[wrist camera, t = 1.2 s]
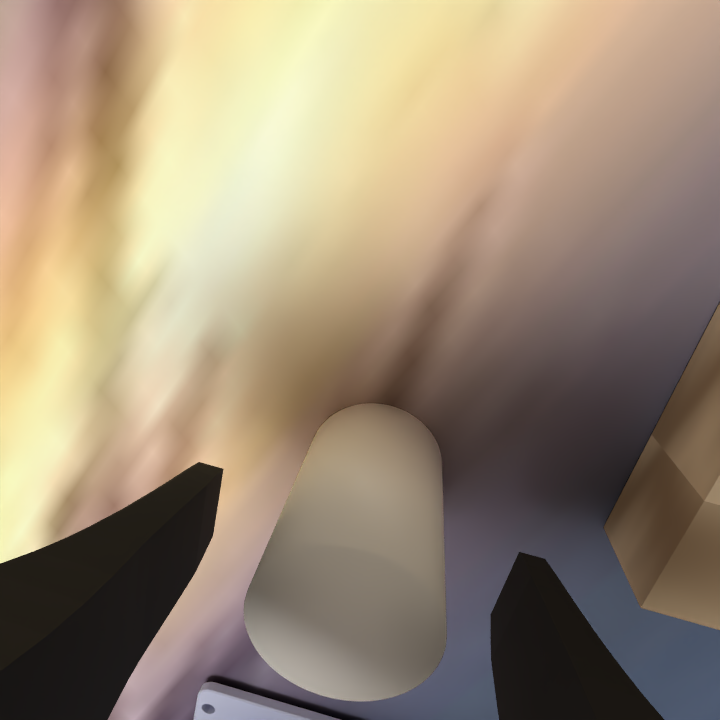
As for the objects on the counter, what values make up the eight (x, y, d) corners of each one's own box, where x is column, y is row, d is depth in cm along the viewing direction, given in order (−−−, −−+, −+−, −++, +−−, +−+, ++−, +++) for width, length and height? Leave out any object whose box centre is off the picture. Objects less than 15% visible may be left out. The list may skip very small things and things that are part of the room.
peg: (421, 532, 16) (414, 722, 11) (299, 498, 17) (230, 668, 11) (459, 424, 15) (474, 580, 9) (324, 387, 15) (261, 519, 10)
